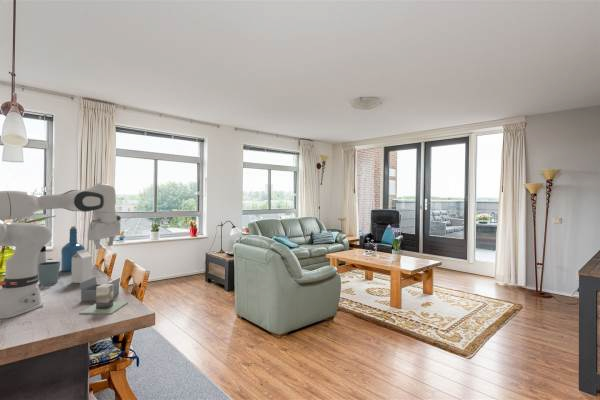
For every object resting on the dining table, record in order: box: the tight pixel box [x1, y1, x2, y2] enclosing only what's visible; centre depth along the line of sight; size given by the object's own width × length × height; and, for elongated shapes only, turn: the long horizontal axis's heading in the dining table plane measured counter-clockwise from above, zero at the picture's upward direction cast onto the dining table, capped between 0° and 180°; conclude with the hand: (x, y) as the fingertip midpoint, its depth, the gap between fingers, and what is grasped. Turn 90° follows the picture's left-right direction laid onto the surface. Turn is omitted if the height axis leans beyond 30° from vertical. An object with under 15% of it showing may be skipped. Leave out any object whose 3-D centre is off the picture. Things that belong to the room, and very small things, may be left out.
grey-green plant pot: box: [38, 261, 61, 287], centre depth 186 cm, size 10×10×12 cm
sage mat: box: [79, 301, 129, 315], centre depth 147 cm, size 14×14×1 cm
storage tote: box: [79, 276, 121, 302], centre depth 162 cm, size 12×13×9 cm
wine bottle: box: [60, 225, 85, 273], centre depth 219 cm, size 14×13×30 cm
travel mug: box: [37, 245, 47, 280], centre depth 196 cm, size 6×7×20 cm
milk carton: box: [71, 249, 93, 284], centre depth 190 cm, size 7×7×19 cm
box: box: [95, 283, 114, 309], centre depth 147 cm, size 5×5×10 cm
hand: (104, 247), depth 150 cm, fingers open, 8 cm apart
